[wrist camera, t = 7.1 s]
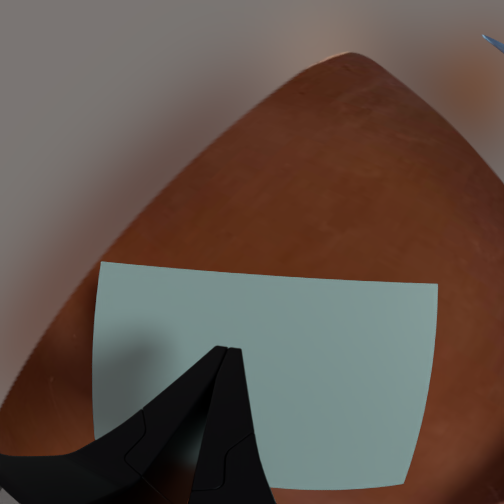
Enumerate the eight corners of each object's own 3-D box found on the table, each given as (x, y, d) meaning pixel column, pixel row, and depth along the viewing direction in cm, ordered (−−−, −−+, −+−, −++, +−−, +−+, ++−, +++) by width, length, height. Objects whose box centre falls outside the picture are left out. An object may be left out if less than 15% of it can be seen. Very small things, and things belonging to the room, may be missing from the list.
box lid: (400, 479, 11) (403, 483, 10) (100, 436, 14) (94, 439, 13) (432, 285, 13) (437, 284, 12) (106, 263, 16) (101, 261, 15)
